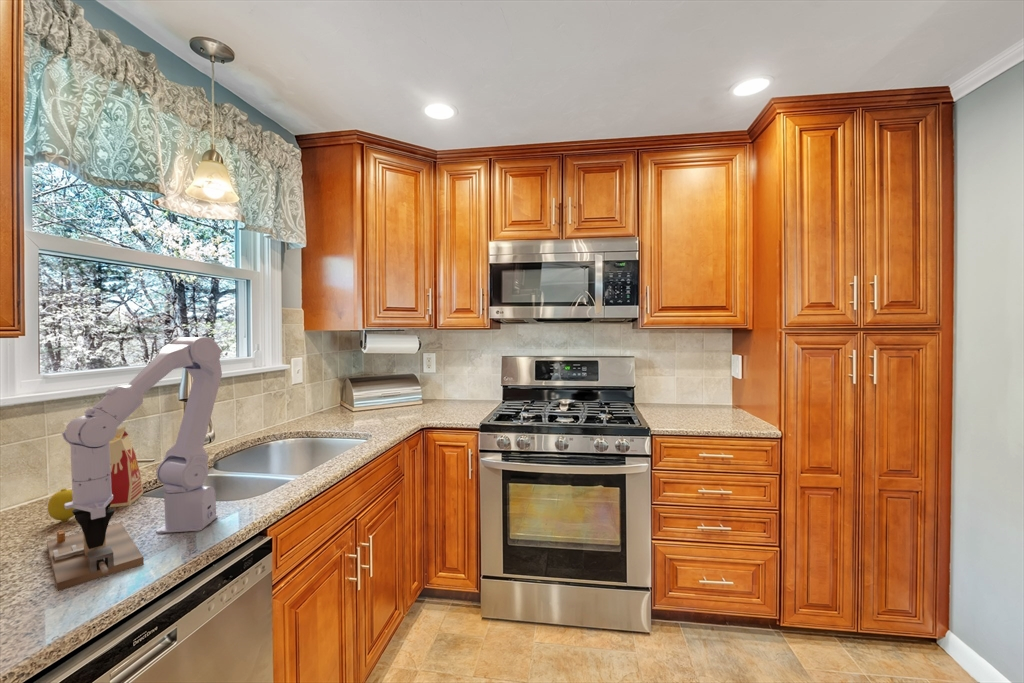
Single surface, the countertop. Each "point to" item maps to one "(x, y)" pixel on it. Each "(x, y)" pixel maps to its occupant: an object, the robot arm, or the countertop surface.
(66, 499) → the lemon
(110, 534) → the keeper board
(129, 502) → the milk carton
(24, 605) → the countertop surface
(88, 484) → the robot arm
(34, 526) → the countertop surface
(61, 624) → the countertop surface
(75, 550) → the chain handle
